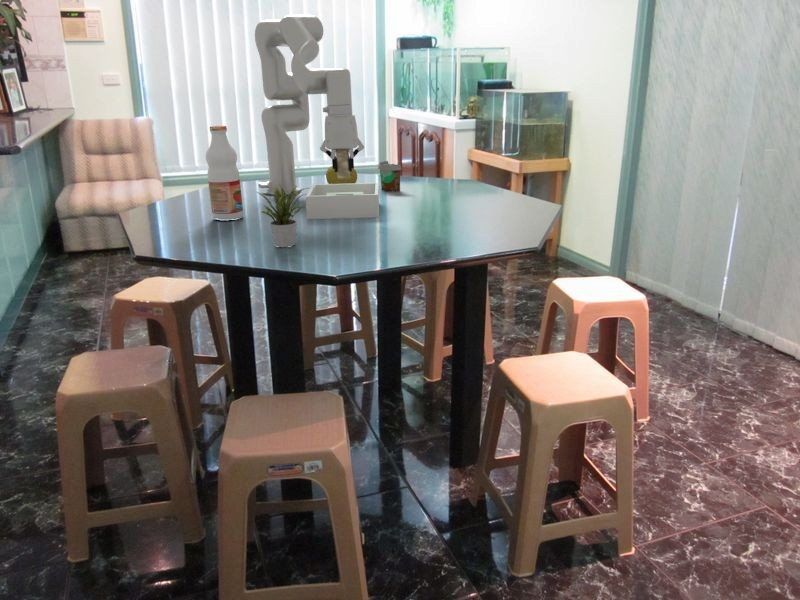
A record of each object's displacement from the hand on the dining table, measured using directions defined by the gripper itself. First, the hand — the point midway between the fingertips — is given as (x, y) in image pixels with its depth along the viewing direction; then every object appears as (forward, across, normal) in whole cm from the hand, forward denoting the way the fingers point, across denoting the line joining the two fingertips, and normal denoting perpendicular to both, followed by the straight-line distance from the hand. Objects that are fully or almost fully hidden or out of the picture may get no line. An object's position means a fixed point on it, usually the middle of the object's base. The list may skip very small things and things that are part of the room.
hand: (343, 170), depth 205 cm
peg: (+2, 0, 0) cm, 2 cm away
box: (+13, 0, 0) cm, 13 cm away
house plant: (+14, -12, -42) cm, 46 cm away
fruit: (+13, -3, +40) cm, 42 cm away
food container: (+13, +14, +38) cm, 42 cm away
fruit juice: (+13, -36, -6) cm, 39 cm away
